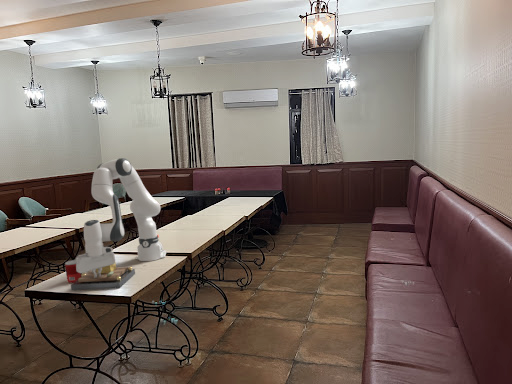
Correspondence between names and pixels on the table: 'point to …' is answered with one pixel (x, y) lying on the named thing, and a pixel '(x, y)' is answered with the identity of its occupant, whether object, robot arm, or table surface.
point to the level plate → (104, 274)
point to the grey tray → (104, 282)
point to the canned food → (72, 271)
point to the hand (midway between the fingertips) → (97, 276)
